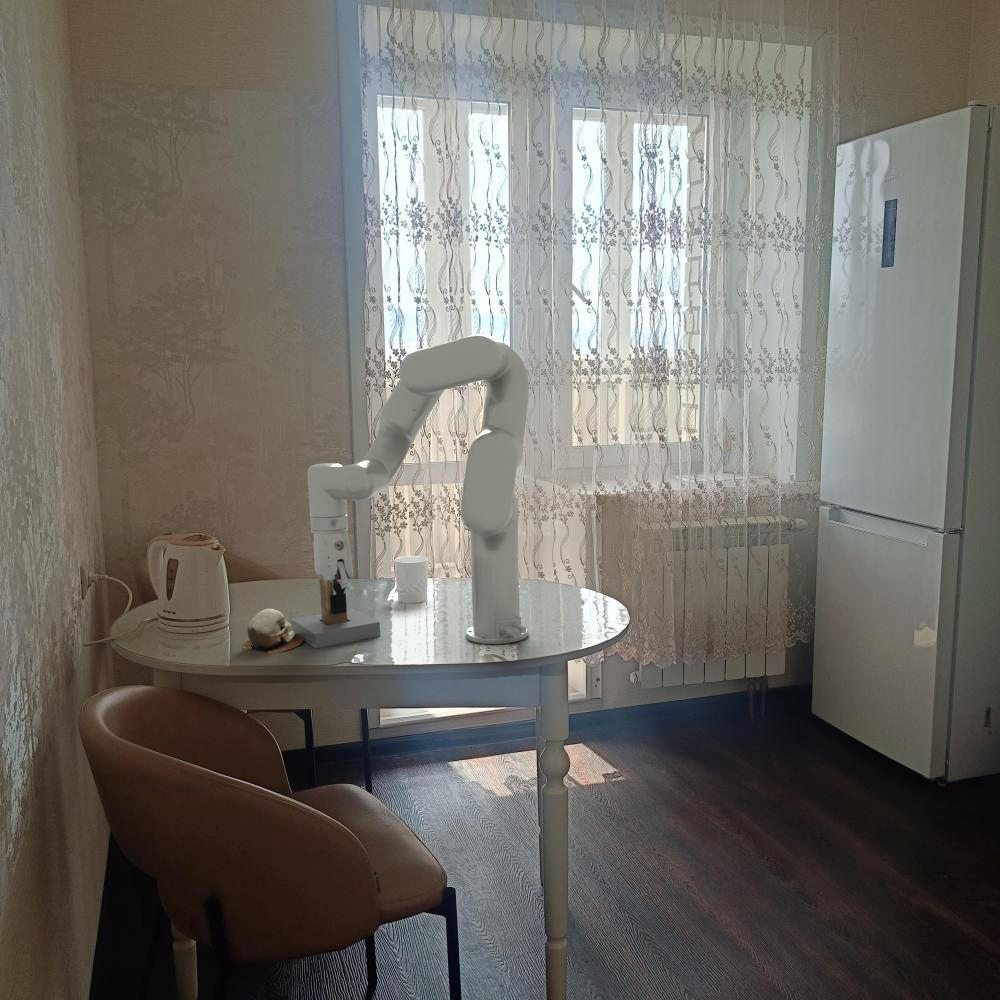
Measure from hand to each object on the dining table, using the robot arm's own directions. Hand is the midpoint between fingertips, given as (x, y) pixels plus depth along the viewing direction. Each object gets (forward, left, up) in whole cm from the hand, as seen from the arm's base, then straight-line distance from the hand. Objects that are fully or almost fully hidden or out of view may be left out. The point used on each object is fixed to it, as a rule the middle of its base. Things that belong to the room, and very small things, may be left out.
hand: (334, 609), depth 189 cm
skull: (+1, +13, -6) cm, 14 cm away
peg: (0, 0, -5) cm, 5 cm away
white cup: (+16, -26, -6) cm, 31 cm away
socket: (0, 0, -5) cm, 5 cm away
